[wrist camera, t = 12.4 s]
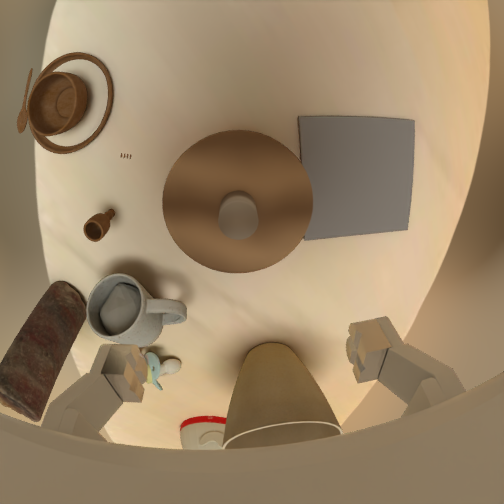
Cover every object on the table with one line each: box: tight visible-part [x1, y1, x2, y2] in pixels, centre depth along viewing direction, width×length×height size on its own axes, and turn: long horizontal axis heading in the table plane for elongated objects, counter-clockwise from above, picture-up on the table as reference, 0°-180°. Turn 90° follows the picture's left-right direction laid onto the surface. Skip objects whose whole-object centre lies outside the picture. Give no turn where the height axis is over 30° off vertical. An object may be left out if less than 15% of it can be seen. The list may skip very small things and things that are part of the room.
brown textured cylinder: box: [0, 281, 87, 422], centre depth 28 cm, size 8×7×20 cm
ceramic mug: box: [86, 273, 187, 347], centre depth 31 cm, size 11×8×8 cm
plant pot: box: [222, 343, 343, 449], centre depth 36 cm, size 15×15×16 cm
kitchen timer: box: [180, 416, 227, 450], centre depth 48 cm, size 14×14×15 cm
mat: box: [298, 116, 415, 240], centre depth 30 cm, size 14×14×1 cm
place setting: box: [17, 52, 131, 242], centre depth 24 cm, size 18×20×6 cm
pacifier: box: [139, 352, 181, 391], centre depth 41 cm, size 7×6×6 cm
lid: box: [163, 130, 313, 273], centre depth 24 cm, size 13×13×5 cm
